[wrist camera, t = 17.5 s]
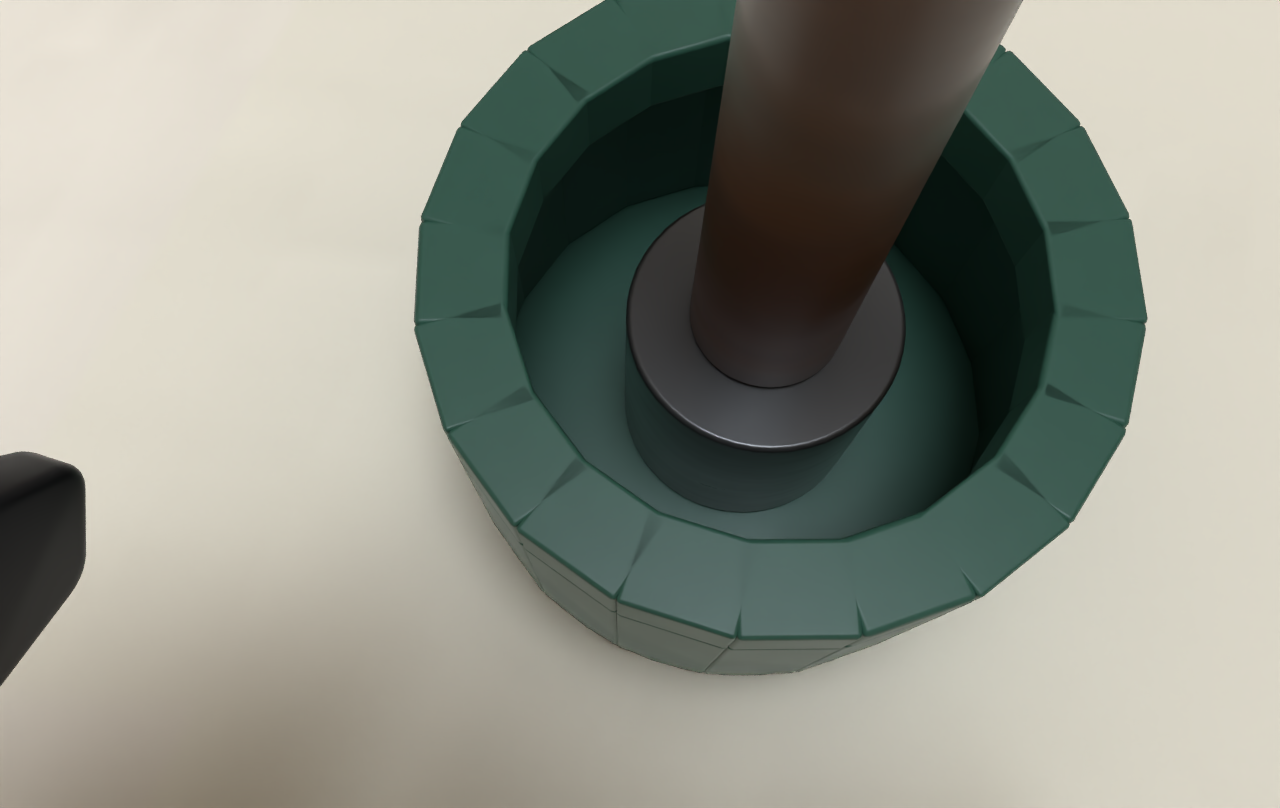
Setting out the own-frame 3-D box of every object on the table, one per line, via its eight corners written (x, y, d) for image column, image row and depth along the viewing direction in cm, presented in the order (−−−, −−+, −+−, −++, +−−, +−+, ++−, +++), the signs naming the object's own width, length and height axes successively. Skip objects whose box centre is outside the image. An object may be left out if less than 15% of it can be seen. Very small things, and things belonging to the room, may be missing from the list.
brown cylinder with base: (744, 561, 19) (987, 178, 6) (577, 402, 19) (502, -217, 7) (898, 401, 20) (1373, -212, 7) (732, 255, 20) (904, -521, 8)
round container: (564, 754, 18) (538, 752, 12) (415, 257, 21) (336, 68, 15) (1082, 572, 19) (1277, 495, 14) (876, 121, 22) (967, -103, 16)
